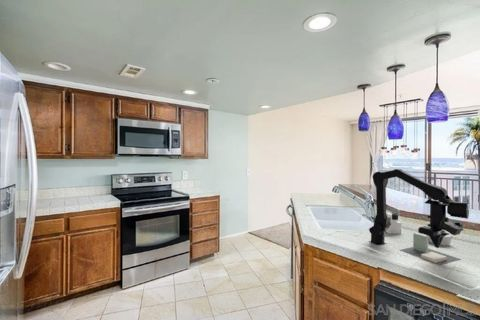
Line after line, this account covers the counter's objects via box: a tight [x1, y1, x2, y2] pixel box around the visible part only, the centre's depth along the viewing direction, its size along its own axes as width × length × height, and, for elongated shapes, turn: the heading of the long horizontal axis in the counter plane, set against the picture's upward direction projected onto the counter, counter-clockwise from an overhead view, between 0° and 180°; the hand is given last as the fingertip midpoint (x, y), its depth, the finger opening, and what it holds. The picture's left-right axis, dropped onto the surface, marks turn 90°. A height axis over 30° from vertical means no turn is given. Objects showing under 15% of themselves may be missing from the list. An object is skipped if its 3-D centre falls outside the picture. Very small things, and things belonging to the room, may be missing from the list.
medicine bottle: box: [385, 212, 402, 235], centre depth 149 cm, size 7×7×12 cm
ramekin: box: [425, 233, 453, 247], centre depth 131 cm, size 11×11×5 cm
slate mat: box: [399, 246, 462, 266], centre depth 115 cm, size 16×18×1 cm
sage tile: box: [412, 232, 429, 253], centre depth 119 cm, size 2×6×8 cm, turn 22°
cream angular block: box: [420, 252, 447, 264], centre depth 110 cm, size 2×6×8 cm
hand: (437, 247), depth 111 cm, fingers closed
